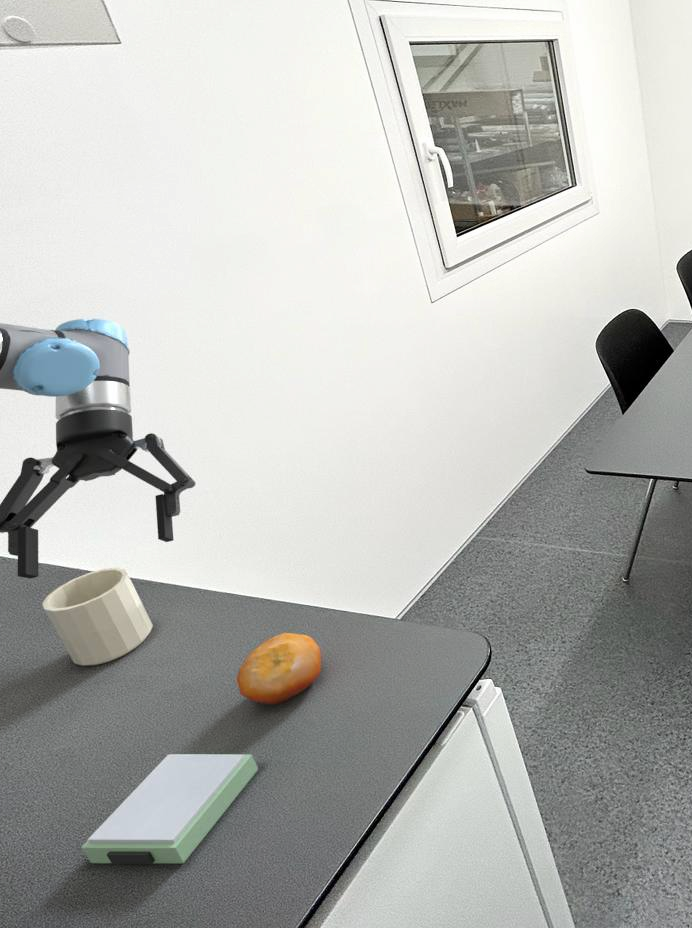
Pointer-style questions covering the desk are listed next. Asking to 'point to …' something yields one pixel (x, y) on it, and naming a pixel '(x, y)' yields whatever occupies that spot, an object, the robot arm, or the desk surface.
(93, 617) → the cream faceted cup
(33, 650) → the desk surface
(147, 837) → the scale
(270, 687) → the fruit
